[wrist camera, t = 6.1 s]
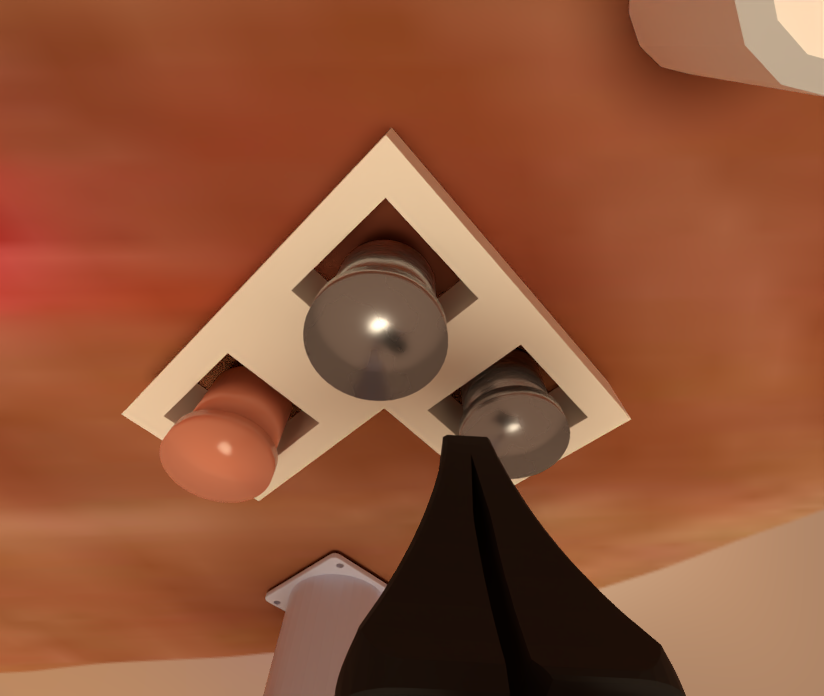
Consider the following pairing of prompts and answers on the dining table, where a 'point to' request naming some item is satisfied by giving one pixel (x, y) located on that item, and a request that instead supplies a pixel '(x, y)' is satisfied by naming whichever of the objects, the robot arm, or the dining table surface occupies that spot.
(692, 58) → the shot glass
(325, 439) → the socket block
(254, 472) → the terracotta plug
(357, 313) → the metal plug
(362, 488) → the dining table surface
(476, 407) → the metal plug
